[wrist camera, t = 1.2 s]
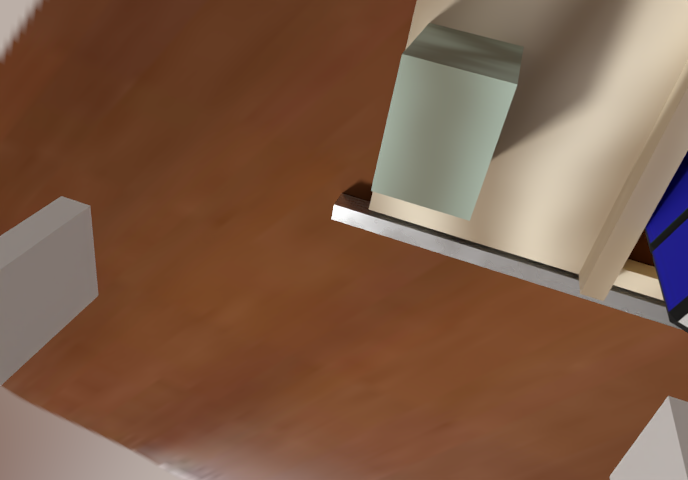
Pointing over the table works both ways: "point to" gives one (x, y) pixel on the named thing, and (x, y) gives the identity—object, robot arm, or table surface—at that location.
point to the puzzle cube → (672, 245)
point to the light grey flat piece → (491, 258)
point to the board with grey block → (540, 129)
